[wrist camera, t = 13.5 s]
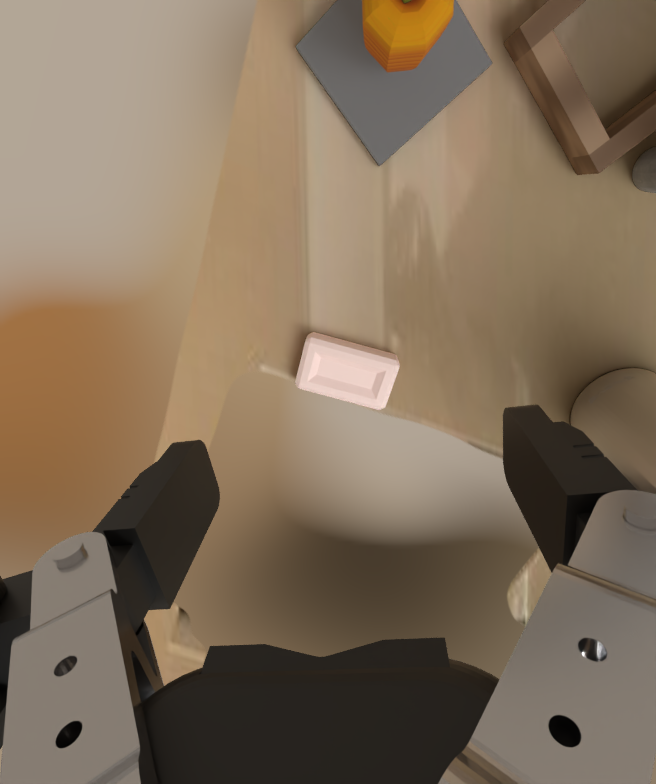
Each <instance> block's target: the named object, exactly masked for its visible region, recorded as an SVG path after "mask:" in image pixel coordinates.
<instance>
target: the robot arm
mask: <svg viewBox="0 0 656 784" xmlns="http://www.w3.org/2000/svg"><path fill="white" fill-rule="evenodd" d="M570 420H571V425H569V424H567V423H565V422H554V423H553V422H552V421H551V420H550V418H549V417H548V416H547V415H546V414H545V412H544V411H543V410H542V409H541V408H540V407H539V406H538V405H527V406H518V407H509V408H505V409H504V413H503V465H504V472H505V476H506V480H507V483H508V486H509V488H510V490H511V492H512V494H513V496H514V498H515V500H516V502H517V504H518V506H519V508H520V510H521V512H522V514H523V516H524V518H525V520H526V522H527V524H528V526H529V528H530V530H531V532H532V534H533V536H534V538H535V540H536V542H537V544H538V546H539V548H540V550H541V552H542V554H543V556H544V558H545V560H546V562H547V564H548V566H549V568H550V570H551V572H552V574H551V576H550V578H549V580H548V582H547V584H546V586H545V588H544V590H543V592H542V594H541V596H540V598H539V600H538V602H537V605H536V607H535V609H534V611H533V613H532V615H531V617H530V619H529V621H528V623H527V625H526V627H525V629H524V631H523V633H522V636H521V637H520V639H519V641H518V643H517V645H516V647H515V649H514V651H513V654H512V655H511V658H510V660H509V662H508V664H507V666H506V668H505V670H504V672H503V674H502V676H501V678H500V679H498V678H496V677H495V676H493V675H492V674H490V673H487V672H485V671H483V670H481V669H479V668H477V667H474V666H472V665H469V664H466V663H463V662H460V661H455V660H451V659H448V654H447V648H446V642H445V638H421V639H395V640H382V641H378V642H375V643H371V644H368V645H364V646H361V647H357V648H354V649H350V650H347V651H343V652H340V653H337V654H333V655H330V656H326V657H316V656H311V655H307V654H303V653H299V652H294V651H291V650H286V649H282V648H278V647H274V646H270V645H266V644H257V645H230V646H210V648H209V651H208V654H207V656H206V659H205V662H204V665H203V668H200V669H197V670H195V671H192V672H190V673H188V674H185V675H183V676H181V677H179V678H177V679H175V680H174V681H172V682H170V683H168V684H167V685H165V686H164V684H163V681H162V677H161V674H160V670H159V666H158V663H157V659H156V656H155V652H154V648H153V645H152V641H151V638H150V634H149V630H148V627H147V625H146V623H145V621H144V617H145V616H146V614H147V612H148V610H157V609H170V607H171V605H172V603H173V601H174V599H175V597H176V595H177V593H178V591H179V589H180V587H181V584H182V582H183V580H184V578H185V576H186V574H187V572H188V570H189V568H190V566H191V564H192V561H193V559H194V557H195V555H196V553H197V551H198V549H199V547H200V545H201V543H202V541H203V539H204V536H205V534H206V532H207V530H208V528H209V526H210V524H211V522H212V520H213V518H214V516H215V513H216V511H217V509H218V506H219V500H220V494H219V487H218V483H217V481H216V477H215V474H214V471H213V468H212V465H211V461H210V458H209V455H208V452H207V449H206V446H205V444H204V443H203V442H202V441H201V440H194V441H185V442H176V443H172V444H171V445H170V447H169V448H168V449H167V450H166V452H165V453H164V454H163V455H162V457H161V458H160V459H159V460H158V462H155V463H154V464H153V465H152V466H150V467H149V468H147V469H146V470H144V471H143V472H142V473H140V474H139V476H138V477H137V478H136V479H135V480H134V482H133V483H132V484H131V485H130V489H127V490H126V491H125V493H124V494H123V495H122V496H121V499H119V500H118V501H117V502H116V503H115V505H114V506H113V507H112V508H111V510H110V511H109V512H108V513H107V514H106V516H105V517H104V518H103V519H102V520H101V522H100V523H99V524H98V525H97V527H96V528H95V529H94V530H93V531H92V532H86V533H82V534H78V535H75V536H72V537H70V538H68V539H66V540H64V541H62V542H60V543H58V544H57V545H55V546H54V547H52V548H51V549H50V550H48V551H47V552H46V553H45V554H44V555H43V556H42V557H41V558H40V559H39V560H38V561H37V563H36V564H35V566H34V568H33V570H32V571H29V572H26V573H22V574H19V575H16V576H12V577H9V578H6V579H2V578H1V576H0V749H1V747H2V746H3V749H2V760H1V772H0V784H650V782H651V777H652V771H653V765H654V760H655V754H656V373H654V372H652V371H649V370H645V369H639V368H627V369H620V370H616V371H613V372H610V373H607V374H605V375H603V376H601V377H599V378H597V379H596V380H595V381H593V382H592V383H590V384H589V385H588V386H587V387H586V388H585V389H584V390H583V391H582V392H581V393H580V395H579V396H578V398H577V399H576V401H575V403H574V405H573V408H572V411H571V417H570Z"/></svg>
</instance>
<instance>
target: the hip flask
mask: <svg viewBox="0 0 656 784" xmlns="http://www.w3.org/2000/svg"><path fill="white" fill-rule="evenodd" d="M632 179H633V182H634V184H635V186H636V187H637V188H638V189H640V190H642V191H645V192H652V193H656V146H655V147H652V148H650V149H648V150H647V151H645V152H644V153H643V154H642V155H641V156H640V157H639V158H638V160H637V161H636V163H635V165H634V168H633V173H632Z"/></svg>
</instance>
